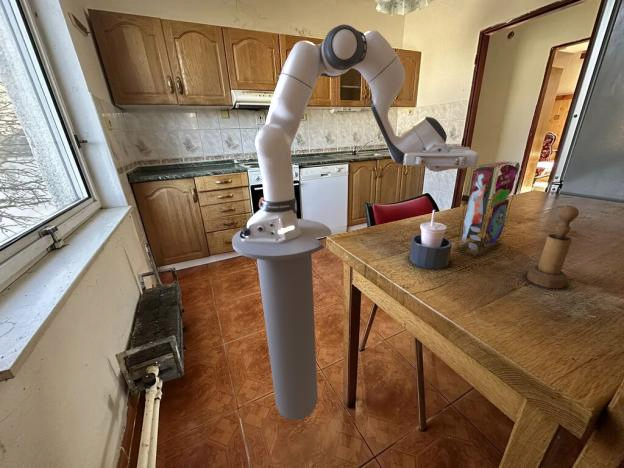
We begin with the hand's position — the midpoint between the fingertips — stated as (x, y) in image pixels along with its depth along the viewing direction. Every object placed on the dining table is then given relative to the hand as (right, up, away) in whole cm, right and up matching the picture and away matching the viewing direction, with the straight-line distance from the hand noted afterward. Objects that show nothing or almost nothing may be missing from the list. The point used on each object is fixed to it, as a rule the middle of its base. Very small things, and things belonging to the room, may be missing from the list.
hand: (439, 162), depth 72 cm
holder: (-4, -28, -1) cm, 28 cm away
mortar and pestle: (+18, -32, -13) cm, 39 cm away
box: (+18, -23, +8) cm, 31 cm away
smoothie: (-4, -27, -1) cm, 28 cm away
